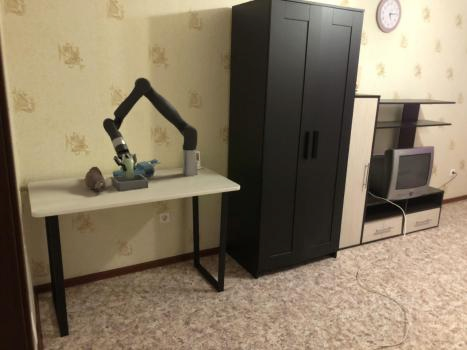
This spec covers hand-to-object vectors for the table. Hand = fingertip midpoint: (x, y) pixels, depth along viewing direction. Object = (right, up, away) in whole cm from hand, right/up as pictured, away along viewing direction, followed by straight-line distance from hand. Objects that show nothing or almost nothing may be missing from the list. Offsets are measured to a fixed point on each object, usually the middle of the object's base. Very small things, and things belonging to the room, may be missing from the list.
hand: (130, 169), depth 219 cm
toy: (-3, -4, +28) cm, 28 cm away
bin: (-1, -10, +4) cm, 11 cm away
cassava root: (-22, -10, +2) cm, 25 cm away
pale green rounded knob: (-1, -4, +2) cm, 5 cm away
